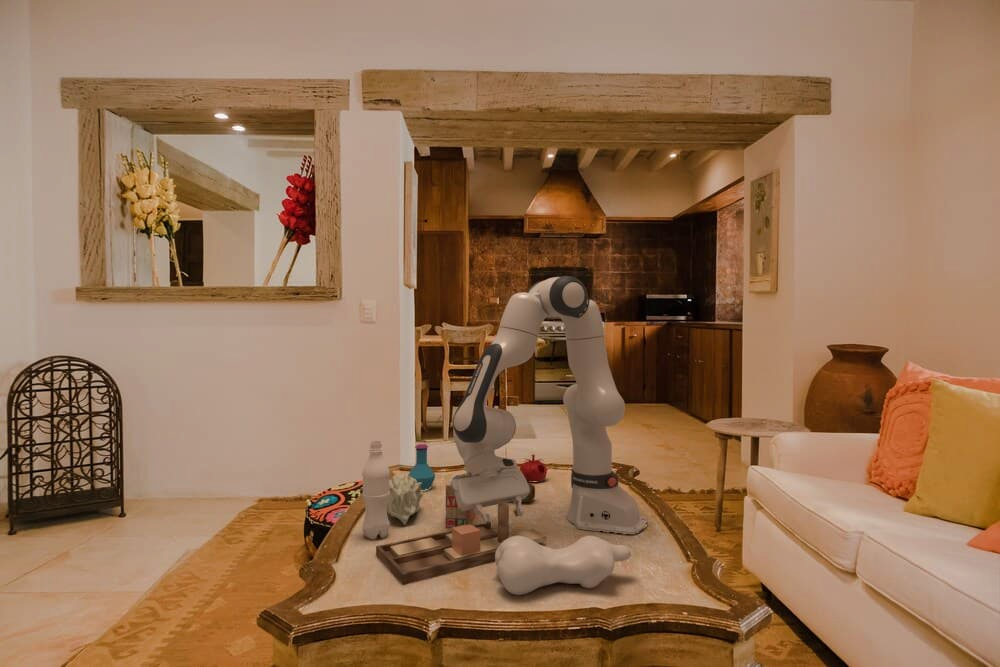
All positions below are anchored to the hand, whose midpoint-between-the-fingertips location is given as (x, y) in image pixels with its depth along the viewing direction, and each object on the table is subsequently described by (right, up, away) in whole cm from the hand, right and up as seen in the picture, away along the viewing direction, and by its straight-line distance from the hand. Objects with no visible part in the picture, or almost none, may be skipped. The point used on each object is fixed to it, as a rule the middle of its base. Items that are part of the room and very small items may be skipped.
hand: (503, 518), depth 138 cm
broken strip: (-15, -8, +2) cm, 17 cm away
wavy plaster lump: (-30, -8, +24) cm, 39 cm away
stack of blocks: (-12, -8, +25) cm, 29 cm away
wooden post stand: (-2, -7, -1) cm, 7 cm away
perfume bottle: (-28, -7, +52) cm, 59 cm away
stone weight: (+3, -8, +39) cm, 40 cm away
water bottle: (-34, -8, +9) cm, 36 cm away
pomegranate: (+11, -7, +62) cm, 63 cm away
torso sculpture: (+13, -9, -16) cm, 23 cm away
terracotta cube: (-9, -6, -5) cm, 12 cm away
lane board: (-13, -8, -2) cm, 15 cm away
